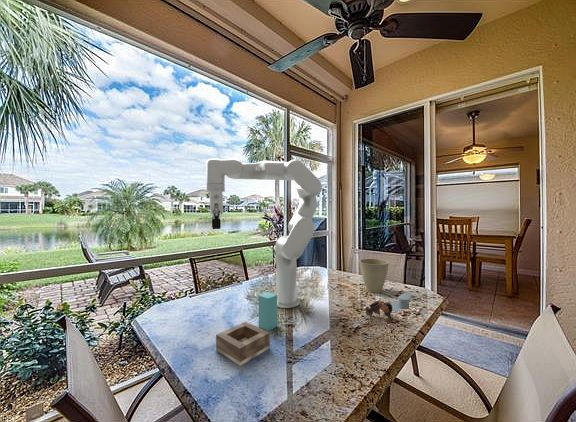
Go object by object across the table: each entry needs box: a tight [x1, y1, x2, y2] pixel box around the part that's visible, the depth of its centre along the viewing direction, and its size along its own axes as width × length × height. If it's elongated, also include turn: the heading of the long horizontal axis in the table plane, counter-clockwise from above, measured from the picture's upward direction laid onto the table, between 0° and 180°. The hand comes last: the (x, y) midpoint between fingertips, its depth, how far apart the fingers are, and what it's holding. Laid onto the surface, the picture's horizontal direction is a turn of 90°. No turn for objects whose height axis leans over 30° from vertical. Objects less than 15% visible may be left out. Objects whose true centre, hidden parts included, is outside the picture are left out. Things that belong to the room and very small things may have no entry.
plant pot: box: [359, 258, 390, 294], centre depth 137 cm, size 15×15×16 cm
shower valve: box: [387, 292, 413, 314], centre depth 114 cm, size 12×6×15 cm
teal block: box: [258, 291, 278, 332], centre depth 96 cm, size 5×5×12 cm
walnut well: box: [215, 321, 271, 366], centre depth 81 cm, size 12×12×5 cm
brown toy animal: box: [364, 300, 394, 325], centre depth 103 cm, size 12×10×8 cm
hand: (216, 227), depth 110 cm, fingers open, 9 cm apart
